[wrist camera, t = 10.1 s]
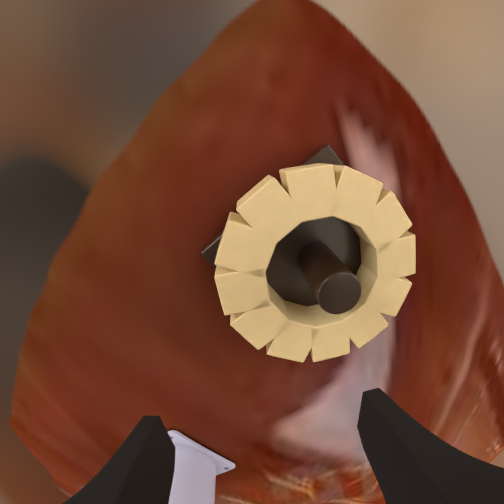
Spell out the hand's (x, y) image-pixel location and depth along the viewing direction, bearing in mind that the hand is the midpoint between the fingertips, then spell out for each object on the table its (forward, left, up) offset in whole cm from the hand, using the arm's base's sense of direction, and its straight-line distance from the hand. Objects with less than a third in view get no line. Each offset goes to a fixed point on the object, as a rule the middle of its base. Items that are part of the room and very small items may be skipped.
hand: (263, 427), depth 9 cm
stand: (+5, 0, -10) cm, 11 cm away
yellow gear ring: (+5, 0, -9) cm, 10 cm away
